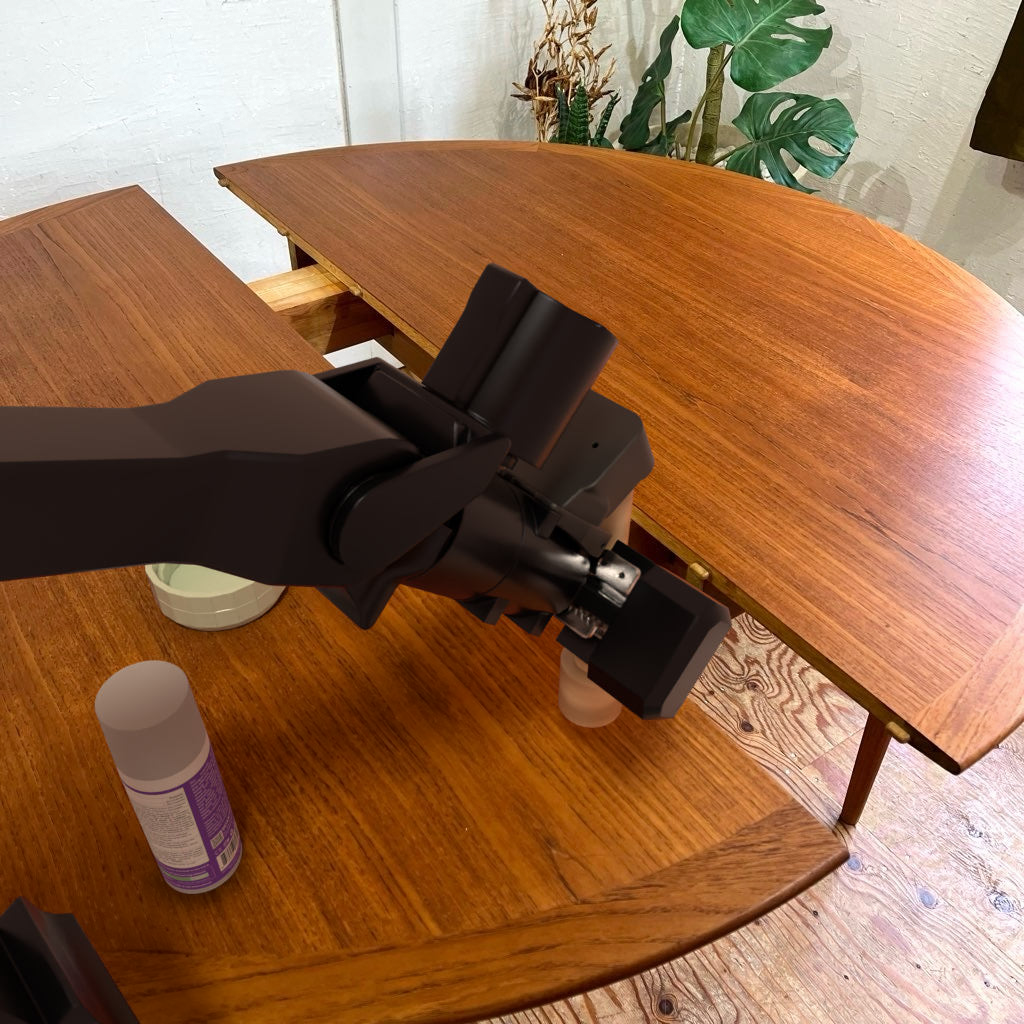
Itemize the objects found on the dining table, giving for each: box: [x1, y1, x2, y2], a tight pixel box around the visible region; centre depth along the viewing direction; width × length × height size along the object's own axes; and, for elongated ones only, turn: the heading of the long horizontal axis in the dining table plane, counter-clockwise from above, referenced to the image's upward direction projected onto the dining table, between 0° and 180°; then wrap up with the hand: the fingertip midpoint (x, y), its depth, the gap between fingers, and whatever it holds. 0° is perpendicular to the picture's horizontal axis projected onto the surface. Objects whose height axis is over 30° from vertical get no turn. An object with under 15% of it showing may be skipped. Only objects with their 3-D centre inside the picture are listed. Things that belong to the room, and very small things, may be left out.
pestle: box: [557, 488, 635, 729], centre depth 54 cm, size 4×4×19 cm
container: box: [94, 659, 243, 895], centre depth 52 cm, size 5×5×15 cm
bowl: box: [144, 563, 287, 632], centre depth 73 cm, size 10×10×4 cm
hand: (615, 592), depth 55 cm, fingers closed on pestle, 2 cm apart
